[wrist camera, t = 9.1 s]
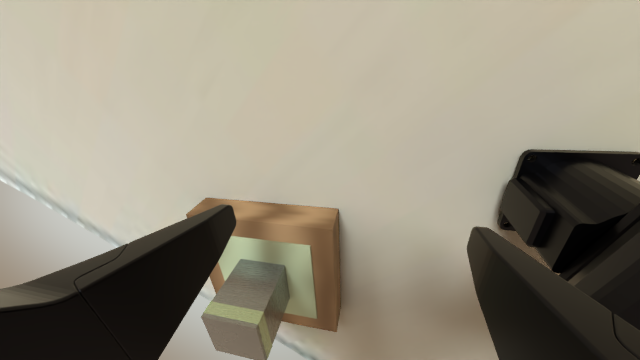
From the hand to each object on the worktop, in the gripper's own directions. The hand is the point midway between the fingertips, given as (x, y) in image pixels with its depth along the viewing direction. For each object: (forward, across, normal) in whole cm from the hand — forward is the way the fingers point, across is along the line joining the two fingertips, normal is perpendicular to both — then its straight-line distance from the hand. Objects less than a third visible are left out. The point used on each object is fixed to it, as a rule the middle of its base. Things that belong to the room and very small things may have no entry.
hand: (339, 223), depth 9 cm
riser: (+11, +9, +14) cm, 20 cm away
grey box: (+8, +9, +14) cm, 18 cm away
